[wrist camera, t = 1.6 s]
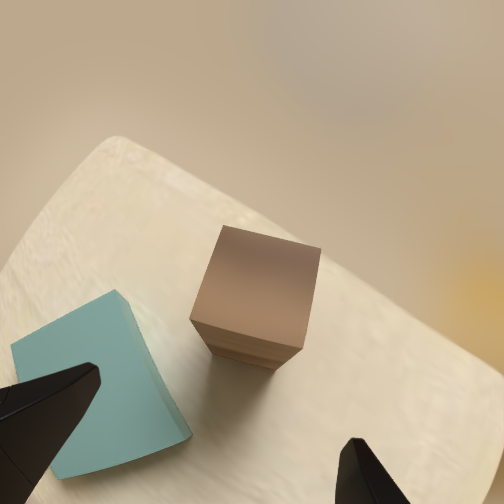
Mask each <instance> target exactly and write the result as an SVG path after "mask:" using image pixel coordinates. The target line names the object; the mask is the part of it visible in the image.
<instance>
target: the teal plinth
mask: <svg viewBox="0 0 504 504" xmlns="http://www.w3.org/2000/svg"><path fill="white" fill-rule="evenodd" d="M11 350H12V355H13V359H14V364H15V368H16V372H17V376H18V380H19V383H22V382H26V381H29V380H32V379H36V378H39V377H42V376H45V375H49V374H52V373H55V372H58V371H61V370H64V369H67V368H70V367H73V366H76V365H79V364H82V363H85V362H91V363H93V364H95V365H97V366H98V367H99V371H100V377H101V386H100V388H99V390H98V392H97V393H96V395H95V397H94V399H93V401H92V402H91V404H90V406H89V408H88V410H87V412H86V413H85V415H84V417H83V418H82V420H81V421H80V422H79V424H78V425H77V427H76V428H75V429H74V431H73V432H72V434H71V435H70V437H69V438H68V439H67V441H66V442H65V444H64V445H63V446H62V448H61V449H60V451H59V452H58V454H57V455H56V457H55V458H54V460H53V461H52V462H51V464H50V466H51V468H52V470H53V472H54V474H55V476H56V478H57V480H59V479H64V478H69V477H74V476H78V475H83V474H87V473H91V472H95V471H98V470H102V469H106V468H109V467H113V466H116V465H119V464H122V463H126V462H129V461H132V460H135V459H138V458H141V457H143V456H146V455H149V454H152V453H154V452H157V451H160V450H162V449H165V448H167V447H170V446H173V445H175V444H177V443H180V442H182V441H185V440H186V439H188V438H189V437H190V436H192V435H193V434H192V432H191V431H190V429H189V427H188V426H187V424H186V422H185V421H184V419H183V417H182V415H181V414H180V412H179V410H178V408H177V406H176V405H175V403H174V401H173V399H172V397H171V395H170V393H169V391H168V389H167V388H166V386H165V384H164V382H163V380H162V378H161V376H160V374H159V372H158V370H157V367H156V365H155V363H154V361H153V359H152V357H151V355H150V352H149V350H148V348H147V346H146V344H145V341H144V339H143V337H142V334H141V332H140V330H139V327H138V325H137V322H136V320H135V318H134V315H133V313H132V310H131V307H130V305H129V302H128V301H127V300H126V299H124V298H123V297H122V296H121V295H120V294H119V293H118V292H117V291H116V290H115V289H114V290H112V291H111V292H109V293H107V294H105V295H103V296H101V297H99V298H97V299H95V300H93V301H91V302H89V303H87V304H85V305H83V306H82V307H80V308H78V309H76V310H74V311H72V312H70V313H68V314H66V315H64V316H63V317H61V318H59V319H57V320H55V321H53V322H51V323H49V324H48V325H46V326H44V327H42V328H40V329H38V330H37V331H35V332H33V333H31V334H29V335H27V336H26V337H24V338H22V339H20V340H18V341H17V342H15V343H13V344H11Z"/></svg>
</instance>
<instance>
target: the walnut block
mask: <svg viewBox="0 0 504 504" xmlns="http://www.w3.org/2000/svg"><path fill="white" fill-rule="evenodd" d="M320 253H321V249H320V248H316V247H312V246H308V245H304V244H300V243H296V242H292V241H288V240H284V239H280V238H276V237H271V236H267V235H263V234H259V233H255V232H250V231H246V230H242V229H238V228H233V227H229V226H225V225H223V227H222V230H221V232H220V235H219V238H218V240H217V243H216V246H215V248H214V251H213V254H212V256H211V259H210V262H209V264H208V267H207V270H206V273H205V275H204V278H203V281H202V284H201V287H200V289H199V292H198V295H197V298H196V301H195V303H194V306H193V309H192V312H191V315H190V318H189V319H190V321H191V322H192V324H193V325H194V327H195V329H196V330H197V332H198V333H199V335H200V336H201V338H202V339H203V341H204V342H205V344H206V345H207V346H208V348H209V349H210V351H211V352H212V353H213V354H216V355H220V356H223V357H227V358H230V359H234V360H238V361H241V362H245V363H249V364H253V365H257V366H261V367H265V368H269V369H274V370H277V369H278V368H279V367H281V366H282V365H283V364H284V363H286V362H287V361H288V360H289V359H291V358H292V357H293V356H294V355H296V354H297V353H298V352H299V351H300V350H302V349H303V345H304V340H305V336H306V331H307V326H308V321H309V316H310V311H311V306H312V300H313V295H314V289H315V284H316V278H317V272H318V266H319V260H320Z"/></svg>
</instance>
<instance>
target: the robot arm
mask: <svg viewBox="0 0 504 504" xmlns="http://www.w3.org/2000/svg"><path fill="white" fill-rule="evenodd" d="M100 386H101V377H100V371H99V367H98V366H97V365H95V364H93V363H91V362H85V363H82V364H79V365H76V366H73V367H70V368H67V369H64V370H61V371H58V372H55V373H52V374H49V375H45V376H42V377H39V378H36V379H32V380H29V381H26V382H22V383H19V384H15V385H12V386H11V387H10V386H8V387H4V388H1V389H0V504H25V502H26V501H27V499H28V497H29V496H30V494H31V493H32V491H33V490H34V488H35V486H36V485H37V483H38V482H39V480H40V479H41V477H42V476H43V474H44V473H45V471H46V470H47V468H48V467H49V465H50V464H51V462H52V461H53V460H54V458H55V457H56V455H57V454H58V452H59V451H60V449H61V448H62V446H63V445H64V444H65V442H66V441H67V439H68V438H69V437H70V435H71V434H72V432H73V431H74V429H75V428H76V427H77V425H78V424H79V422H80V421H81V420H82V418H83V417H84V415H85V413H86V412H87V410H88V408H89V406H90V404H91V402H92V401H93V399H94V397H95V395H96V393H97V392H98V390H99V388H100ZM335 504H410V502H409V501H408V500H407V498H406V497H405V495H404V494H403V493H402V491H401V490H400V489H399V487H398V486H397V485H396V483H395V482H394V481H393V479H392V478H391V476H390V475H389V474H388V472H387V471H386V470H385V468H384V467H383V465H382V464H381V463H380V461H379V460H378V459H377V457H376V456H375V454H374V453H373V452H372V450H371V449H370V447H369V446H368V445H367V443H366V442H365V440H364V439H362V438H351V439H350V440H349V441H348V443H347V444H346V445H345V446H344V448H343V449H342V451H341V453H340V459H339V467H338V475H337V482H336V490H335Z"/></svg>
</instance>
